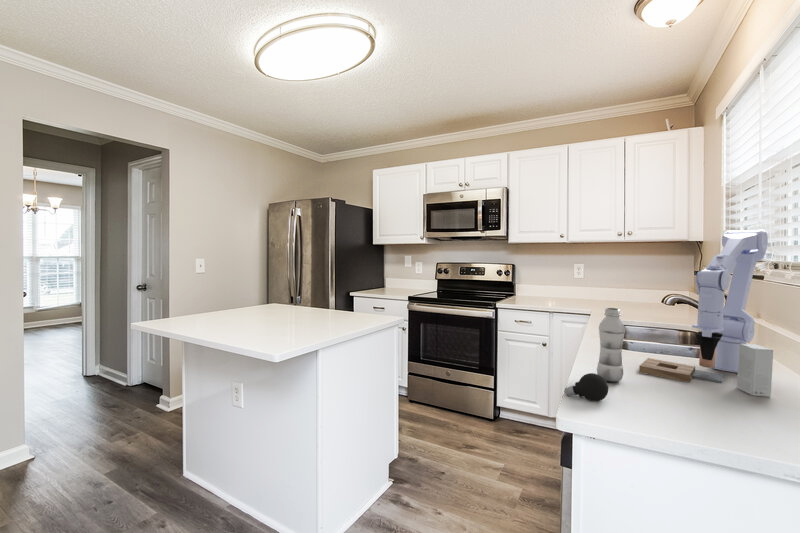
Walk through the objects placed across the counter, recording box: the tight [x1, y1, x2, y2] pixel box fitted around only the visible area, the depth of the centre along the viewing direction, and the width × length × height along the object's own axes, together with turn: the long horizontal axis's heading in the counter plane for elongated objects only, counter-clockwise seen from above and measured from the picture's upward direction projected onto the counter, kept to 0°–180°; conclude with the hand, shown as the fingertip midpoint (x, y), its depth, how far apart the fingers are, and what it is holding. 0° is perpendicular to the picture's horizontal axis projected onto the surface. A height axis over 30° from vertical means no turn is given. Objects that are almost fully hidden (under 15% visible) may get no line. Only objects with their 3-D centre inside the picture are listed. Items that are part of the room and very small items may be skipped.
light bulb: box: [563, 372, 609, 402], centre depth 93 cm, size 6×6×10 cm
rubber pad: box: [692, 368, 725, 384], centre depth 111 cm, size 8×7×1 cm
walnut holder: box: [638, 357, 696, 383], centre depth 115 cm, size 12×12×2 cm
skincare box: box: [736, 343, 774, 398], centre depth 99 cm, size 6×4×12 cm
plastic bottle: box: [596, 307, 626, 383], centre depth 106 cm, size 6×7×20 cm
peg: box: [698, 348, 716, 369], centre depth 111 cm, size 4×4×6 cm
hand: (707, 358), depth 111 cm, fingers closed on peg, 4 cm apart
